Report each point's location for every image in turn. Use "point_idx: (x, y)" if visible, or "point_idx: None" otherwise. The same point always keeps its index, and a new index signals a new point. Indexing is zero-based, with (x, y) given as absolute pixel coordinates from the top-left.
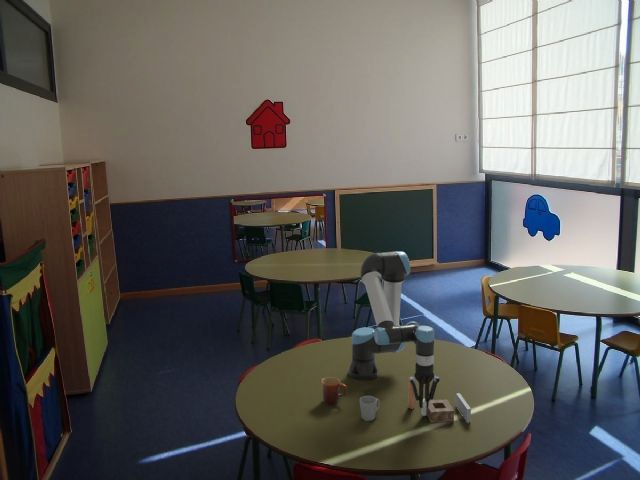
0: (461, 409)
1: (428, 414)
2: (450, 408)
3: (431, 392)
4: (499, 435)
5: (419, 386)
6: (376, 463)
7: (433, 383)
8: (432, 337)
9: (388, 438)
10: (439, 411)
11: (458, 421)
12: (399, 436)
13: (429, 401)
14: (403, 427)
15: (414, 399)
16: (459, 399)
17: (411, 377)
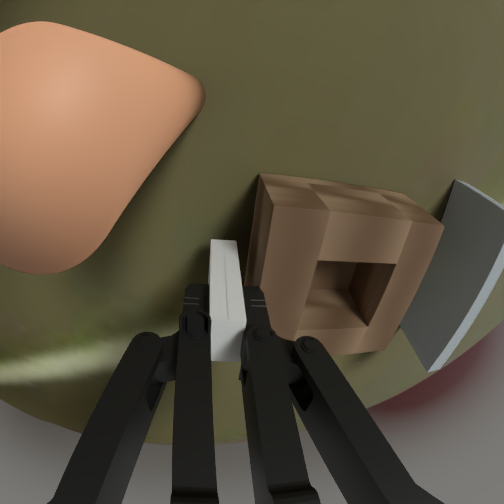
0: (442, 278)
1: (249, 282)
2: (384, 332)
3: (309, 422)
4: (418, 373)
5: (174, 478)
6: (41, 413)
7: (360, 499)
8: None
9: (42, 356)
10: None
11: None
12: (77, 358)
13: (312, 228)
14: (89, 314)
15: (193, 118)
16: (482, 271)
17: (14, 82)
